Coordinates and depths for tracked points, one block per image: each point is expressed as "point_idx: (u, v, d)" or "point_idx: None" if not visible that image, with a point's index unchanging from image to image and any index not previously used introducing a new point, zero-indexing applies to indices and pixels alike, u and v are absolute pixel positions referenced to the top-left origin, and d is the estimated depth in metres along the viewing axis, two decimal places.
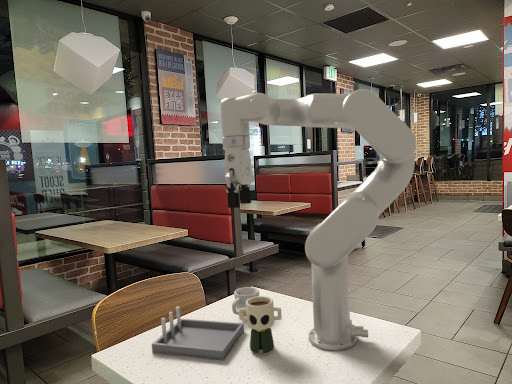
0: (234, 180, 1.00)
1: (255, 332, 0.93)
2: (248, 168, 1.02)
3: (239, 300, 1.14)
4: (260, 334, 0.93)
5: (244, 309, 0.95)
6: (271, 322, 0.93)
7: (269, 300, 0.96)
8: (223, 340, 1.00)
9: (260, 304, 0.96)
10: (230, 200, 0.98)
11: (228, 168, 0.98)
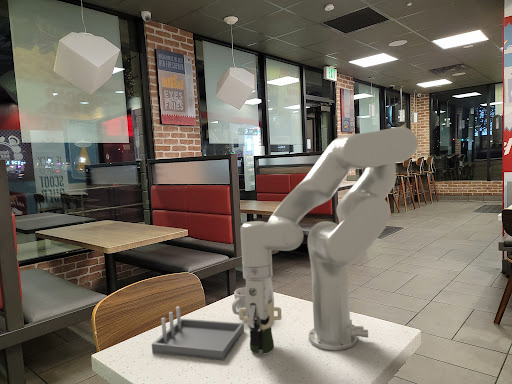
0: None
1: None
2: (270, 296, 0.94)
3: (239, 300, 1.14)
4: None
5: (244, 309, 0.95)
6: (271, 322, 0.93)
7: None
8: (223, 340, 1.00)
9: None
10: (253, 339, 0.91)
11: (249, 302, 0.90)
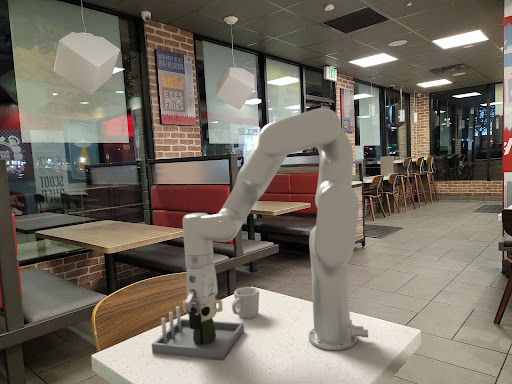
0: None
1: None
2: (212, 284, 1.00)
3: (239, 300, 1.14)
4: None
5: None
6: (212, 313, 0.98)
7: None
8: (223, 340, 1.00)
9: None
10: (191, 322, 0.95)
11: (189, 289, 0.96)
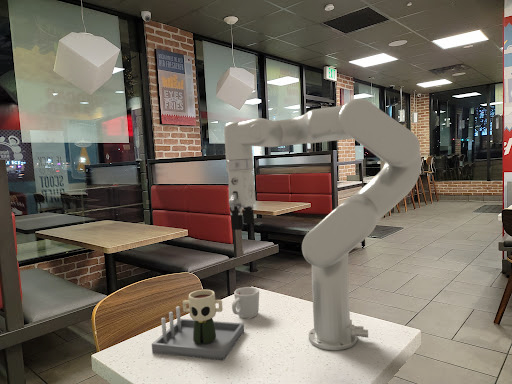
0: (238, 202, 1.02)
1: (197, 323, 0.99)
2: (251, 190, 1.05)
3: (239, 300, 1.14)
4: (201, 325, 0.98)
5: (187, 301, 1.00)
6: (212, 313, 0.98)
7: (211, 293, 1.01)
8: (223, 340, 1.00)
9: (203, 297, 1.01)
10: (234, 222, 1.00)
11: (232, 191, 1.01)
